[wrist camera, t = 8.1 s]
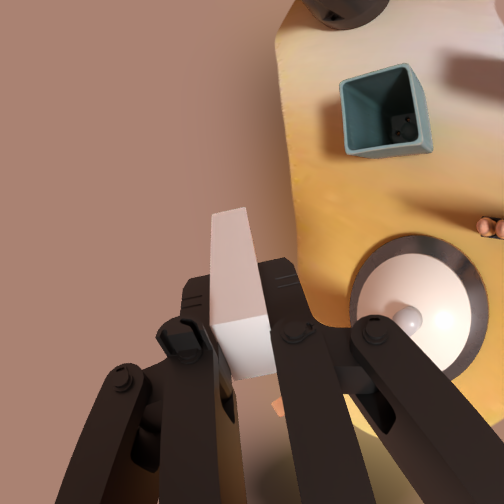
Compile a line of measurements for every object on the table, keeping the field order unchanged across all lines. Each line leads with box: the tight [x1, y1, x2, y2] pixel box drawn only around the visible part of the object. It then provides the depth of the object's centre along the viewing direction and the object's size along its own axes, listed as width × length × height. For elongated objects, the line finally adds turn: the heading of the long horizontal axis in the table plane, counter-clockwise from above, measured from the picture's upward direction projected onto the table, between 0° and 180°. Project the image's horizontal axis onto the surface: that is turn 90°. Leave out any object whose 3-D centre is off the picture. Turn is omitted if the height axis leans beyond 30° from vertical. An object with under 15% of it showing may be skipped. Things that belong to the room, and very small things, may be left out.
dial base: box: [349, 235, 489, 381], centre depth 30 cm, size 19×19×4 cm
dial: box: [271, 253, 472, 417], centre depth 25 cm, size 16×15×17 cm
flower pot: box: [339, 63, 433, 159], centre depth 28 cm, size 9×9×9 cm
